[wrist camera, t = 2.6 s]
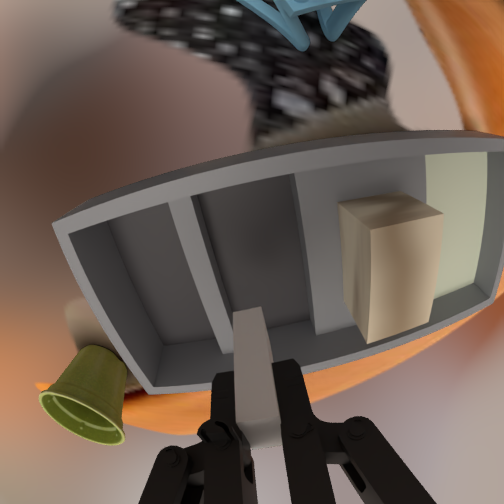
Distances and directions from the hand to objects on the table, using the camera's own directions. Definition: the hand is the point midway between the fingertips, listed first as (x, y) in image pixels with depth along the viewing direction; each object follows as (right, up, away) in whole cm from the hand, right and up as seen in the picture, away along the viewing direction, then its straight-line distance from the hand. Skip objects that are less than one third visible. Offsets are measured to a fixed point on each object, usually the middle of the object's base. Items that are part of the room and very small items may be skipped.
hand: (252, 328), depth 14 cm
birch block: (+9, +4, +4) cm, 11 cm away
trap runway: (+6, +5, +7) cm, 10 cm away
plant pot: (-17, -8, +12) cm, 22 cm away
